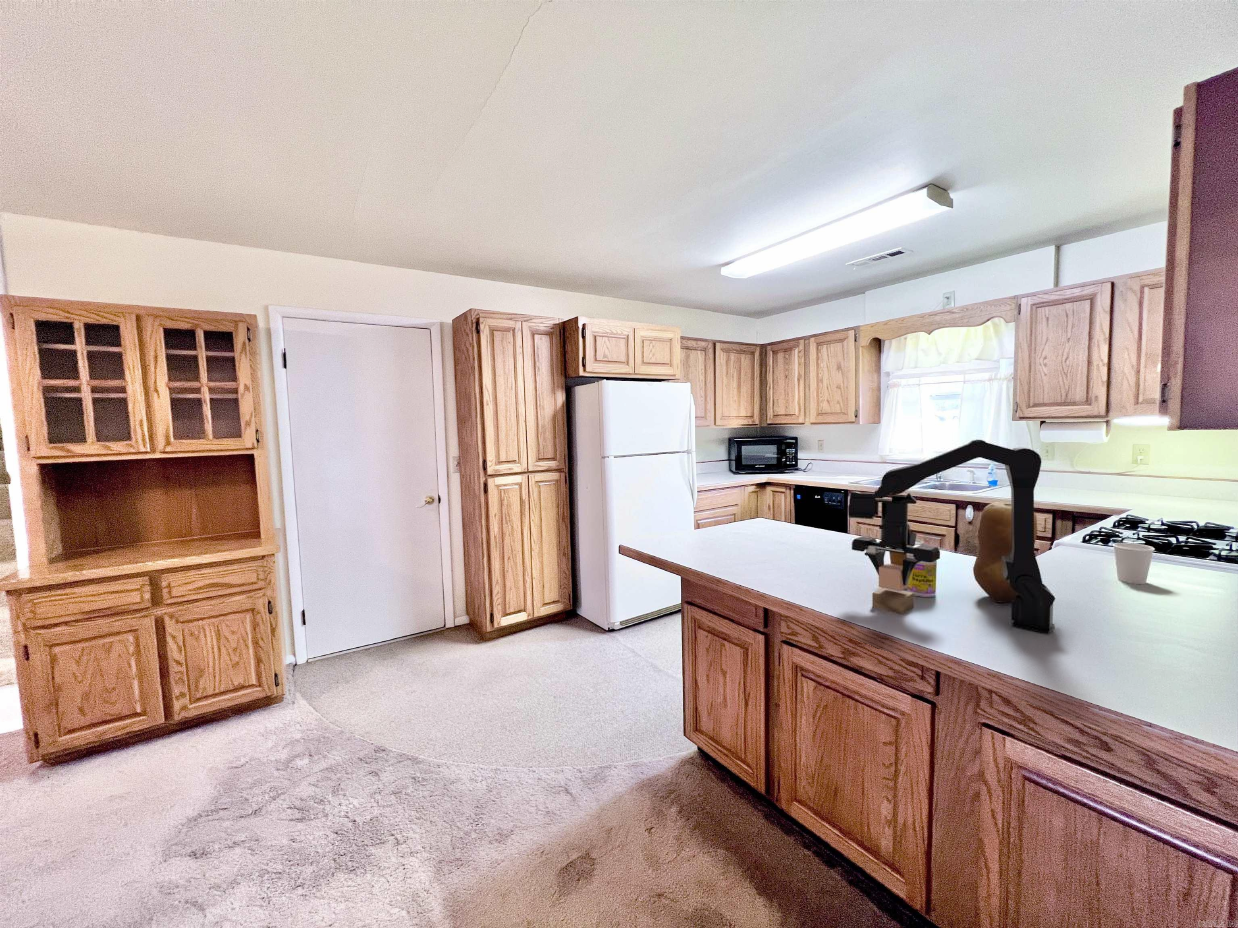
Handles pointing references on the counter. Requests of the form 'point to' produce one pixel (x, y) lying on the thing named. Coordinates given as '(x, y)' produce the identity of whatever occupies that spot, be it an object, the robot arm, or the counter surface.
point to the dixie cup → (1132, 562)
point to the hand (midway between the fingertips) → (893, 582)
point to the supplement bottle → (923, 579)
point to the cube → (891, 577)
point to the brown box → (893, 600)
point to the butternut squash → (995, 551)
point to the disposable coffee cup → (901, 555)
